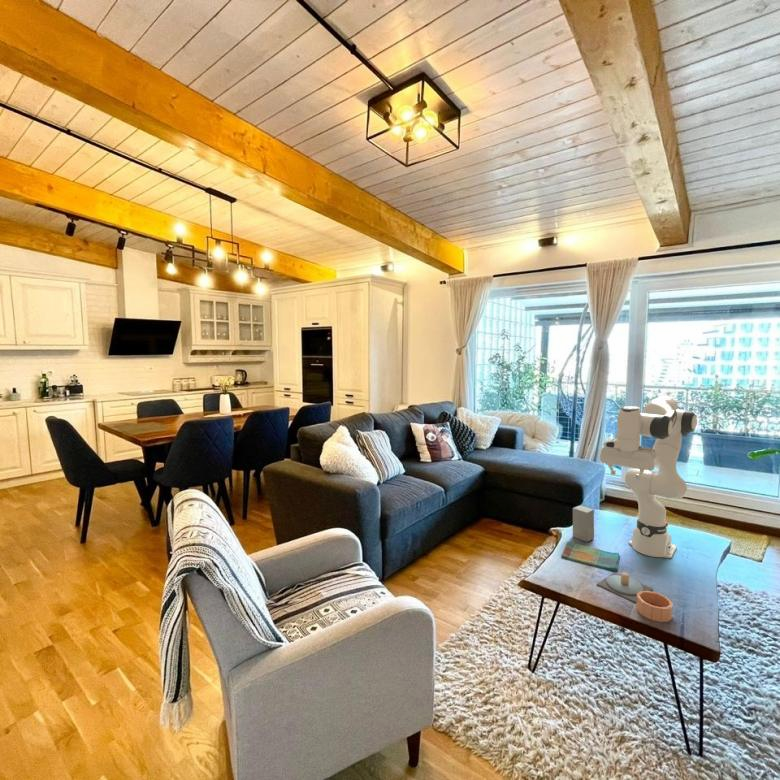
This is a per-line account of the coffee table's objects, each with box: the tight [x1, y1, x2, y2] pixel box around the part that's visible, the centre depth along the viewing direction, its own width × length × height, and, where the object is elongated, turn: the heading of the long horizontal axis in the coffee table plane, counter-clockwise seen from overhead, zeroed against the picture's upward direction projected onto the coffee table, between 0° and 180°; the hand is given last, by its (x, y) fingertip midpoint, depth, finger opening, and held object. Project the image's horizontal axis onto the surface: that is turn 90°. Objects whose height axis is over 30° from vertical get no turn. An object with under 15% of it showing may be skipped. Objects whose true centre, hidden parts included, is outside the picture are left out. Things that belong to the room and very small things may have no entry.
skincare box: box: [572, 505, 595, 543], centre depth 213 cm, size 8×7×16 cm
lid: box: [607, 572, 643, 595], centre depth 169 cm, size 13×13×5 cm
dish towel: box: [560, 541, 621, 573], centre depth 194 cm, size 17×23×2 cm
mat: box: [596, 571, 653, 604], centre depth 170 cm, size 15×15×1 cm
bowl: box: [635, 590, 674, 623], centre depth 154 cm, size 11×11×5 cm
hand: (625, 476), depth 177 cm, fingers open, 8 cm apart
